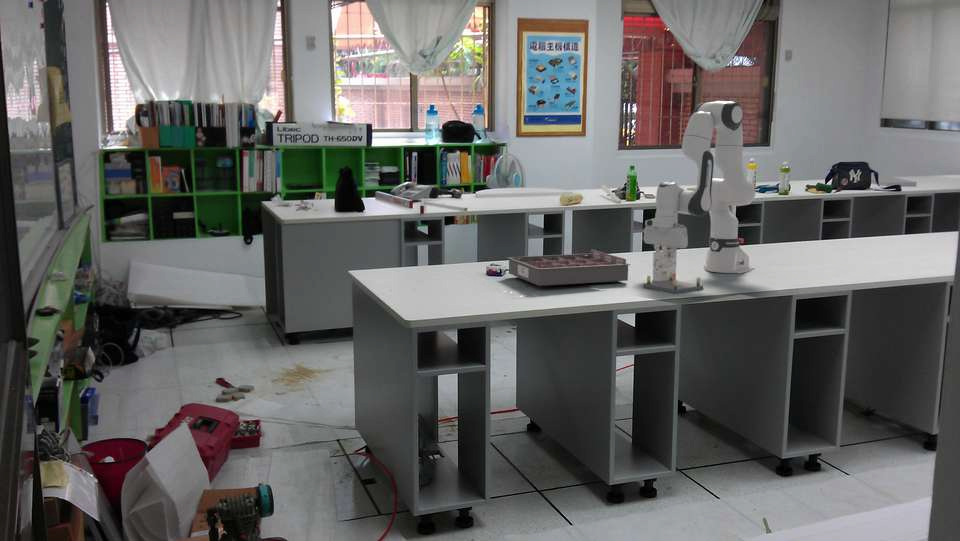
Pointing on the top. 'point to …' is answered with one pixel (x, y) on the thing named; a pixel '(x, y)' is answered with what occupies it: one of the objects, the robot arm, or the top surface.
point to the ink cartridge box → (664, 265)
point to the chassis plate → (673, 285)
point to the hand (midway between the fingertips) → (664, 256)
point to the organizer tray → (569, 268)
